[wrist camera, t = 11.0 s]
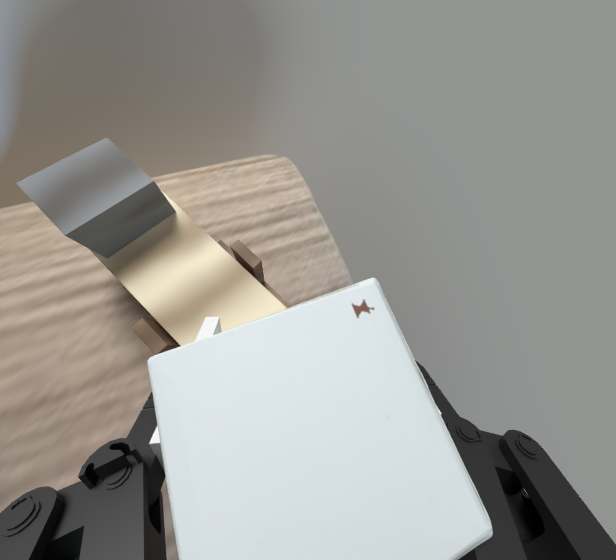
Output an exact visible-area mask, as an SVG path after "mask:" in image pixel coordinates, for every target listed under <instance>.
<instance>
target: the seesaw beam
mask: <svg viewBox="0 0 616 560" xmlns="http://www.w3.org/2000/svg"><path fill="white" fill-rule="evenodd" d="M17 185H18V186H19V187H20V188H21V189H22V190H23V191H24V192H25V193H26V194H27V195H28V196H29V197H30V198H31V200H32V201H33V202H34V203H35V204H36V205H37V206H38V207H39V208H40V209H41V210H42V211H43V212H44V214H45V215H46V216H47V217H48V218H49V219H50V220H51V221H52V222H53V223H54V224H55V225H56V226H57V227H58V228H59V230H60V231H61V232H62V233H63V234H64V235H65V236H67V237H69V238H71V239H73V240H74V241H76V242H78V243H80V244H82V245H83V246H85V247H87V248H89V249H90V250H91V251H92V252H93V253H94V255H95V256H96V257H97V258H98V259H99V260H100V261H101V262H102V263H103V264H104V265H105V266H106V267H107V268H108V269H109V270H110V271H111V273H112V274H113V275H114V276H115V277H116V278H117V279H118V280H119V281H120V282H121V283H122V284H123V285H124V286H125V287H126V288H127V289H128V291H129V292H130V293H131V294H132V295H133V296H134V297H135V298H136V299H137V300H138V301H139V302H140V303H141V304H142V305H143V306H144V307H145V309H146V310H147V311H148V312H149V313H150V314H151V315H152V316H153V317H154V318H155V319H156V320H157V321H158V322H159V323H160V324H161V325H162V327H163V328H164V329H165V330H166V331H167V332H168V333H169V334H170V335H171V336H172V337H173V338H174V339H175V340H176V341H177V342H178V343H179V344H180V346H183V345H186V344H189V343H192V342H195V340H196V338H197V336H198V333H199V331H200V329H201V327H202V324H203V322H204V320H205V318H206V317H220V323H221V330H222V332H223V331H226V330H229V329H232V328H234V327H237V326H240V325H243V324H246V323H248V322H251V321H254V320H257V319H259V318H262V317H265V316H268V315H270V314H273V313H276V312H279V311H282V310H284V309H287V308H286V307H285V306H284V305H283V304H282V303H281V302H280V301H279V300H278V299H277V298H276V297H274V296H273V295H272V294H271V293H270V292H269V291H268V290H267V289H266V288H265V287H264V286H263V285H262V284H261V283H260V282H258V281H257V280H256V279H255V278H254V277H253V276H252V275H251V274H250V273H249V272H248V271H247V270H246V269H245V268H243V267H242V266H241V265H240V264H239V263H238V262H237V261H236V260H235V259H234V258H233V257H232V256H231V255H230V254H229V253H227V252H226V251H225V250H224V249H223V248H222V247H221V246H220V245H219V244H218V243H217V242H216V241H215V240H214V239H212V238H211V237H210V236H209V235H208V234H207V233H206V232H205V231H204V230H203V229H202V228H201V227H200V226H199V225H198V224H196V223H195V222H194V221H193V220H192V219H191V218H190V217H189V216H188V215H187V214H186V213H185V212H184V211H183V210H181V209H180V208H179V207H178V206H177V205H176V204H175V203H174V202H173V201H172V200H171V199H170V198H169V197H168V196H167V195H165V194H164V193H163V192H162V191H161V190H160V189H159V188H158V186H157V185H156V183H155V182H154V181H153V180H152V179H151V178H150V177H149V176H148V175H147V174H146V173H145V172H143V171H142V170H141V169H140V168H139V167H138V166H137V165H136V164H135V163H134V162H133V161H132V160H131V159H130V158H128V157H127V156H126V155H125V154H124V153H123V152H122V151H121V150H120V149H119V148H118V147H117V146H116V145H115V144H113V143H112V142H111V141H110V140H109V139H108V138H105V139H103V140H101V141H99V142H97V143H95V144H93V145H91V146H89V147H87V148H85V149H83V150H81V151H79V152H77V153H75V154H73V155H71V156H69V157H67V158H65V159H63V160H61V161H59V162H57V163H55V164H53V165H51V166H49V167H47V168H45V169H43V170H41V171H39V172H37V173H35V174H34V175H31V176H29V177H28V178H25V179H23V180H21V181H20V182H17Z"/></svg>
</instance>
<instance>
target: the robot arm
mask: <svg viewBox="0 0 616 560" xmlns="http://www.w3.org/2000/svg"><path fill="white" fill-rule="evenodd" d="M221 332H222V330H221V323H220V317H206V318H205V320H204V322H203V324H202V327H201V329H200V331H199V333H198V336H197V338H196V340H195V341H198V340H200V339H203V338H206V337H209V336H212V335H215V334H218V333H221ZM415 362H416V364H417V366H418V368H419V369H420V371H421V373H422V375H423V377H424V379H425V381H426V383H427V385H428V388H429V391H430V393H431V395H432V398H433V400H434V402H435V404H436V406H437V408H438V411H439V413H440V415H441V417H442V419H443V421H444V423H445V425H446V427H447V429H448V431H449V434H450V436H451V438H452V440H453V442H454V444H455V446H456V448H457V451H458V453H459V455H460V457H461V459H462V461H463V463H464V466H465V468H466V470H467V472H468V474H469V476H470V478H471V480H472V482H473V484H474V486H475V488H476V490H477V492H478V494H479V497H480V499H481V501H482V503H483V505H484V507H485V509H486V511H487V513H488V516H489V518H490V521H491V525H492V529H493V535H492V537H491V538H489V539H488V540H486V541H485V542H483V543H481V544H480V545H478V546H477V547H475V548H474V549H472V550H471V551H470V552H468V553H467V554H465V555H464V556H462V557H461V558H460V559H458V560H616V545H615V543H614V542H613V540H612V539H611V538H610V536H609V535H608V534H607V533H606V531H605V530H604V529H603V527H602V526H601V525H600V523H599V522H598V521H597V519H596V518H595V517H594V515H593V514H592V513H591V511H590V510H589V509H588V507H587V506H586V505H585V503H584V502H583V501H582V499H581V498H580V497H579V495H578V494H577V493H576V491H575V490H574V489H573V488H572V486H571V485H570V484H569V482H568V481H567V480H566V478H565V477H564V476H563V474H562V473H561V472H560V470H559V469H558V468H557V466H556V465H555V464H554V463H553V461H552V460H551V459H550V457H549V456H548V454H547V453H546V452H545V451H544V449H543V448H542V447H541V446H540V445H539V444H538V443H537V442H536V441H534V440H533V439H532V438H531V437H529V436H528V435H526V434H524V433H522V432H520V431H516V430H508V431H507V432H506V433H505V434H504V435H503V436H500V435H497V434H493V433H489V432H484V431H481V430H479V429H478V428H477V427H476V426H475V425H473V424H472V423H471V422H469V421H468V420H466V419H464V418H461V417H460V416H459V415H458V414H457V413H456V411H455V410H454V409H453V407H452V406H451V404H450V403H449V402H448V401H447V399H446V398H445V396H444V395H443V393H442V392H441V391H440V389H439V388H438V386H436V384H435V382H434V381H433V380H432V378H430V376H429V374H428V373H427V371H426V370H425V368H424V367H423V366H421V365H420V364H419V363H418V362H417V361H415ZM78 477H79V479H80V480H81V481H80V482H77V483H75V484H73V485H70V486H68V487H66V488H63V489H61V490H58V491H56V490H55V489H53V488H51V487H49V486H47V487H40V488H36V489H34V490H32V491H30V492H27V493H25V494H24V495H22V496H21V497H19V498H18V499H17V500H15V501H14V502H12V503H11V504H10V505H9V506H8V507H7V508H6V509H5V510H3V511H2V512H1V513H0V560H167V559H166V544H165V529H164V514H163V499H162V493H161V487H162V485H163V482H164V479H165V470H164V464H163V457H162V451H161V445H160V438H159V432H158V425H157V419H156V413H155V407H154V400H153V393H152V392H151V394H150V396H149V397H148V400H147V401H146V403H145V405H144V407H143V410H141V412H140V414H139V416H138V418H137V420H136V422H135V423H134V425H133V427H132V429H131V431H130V433H129V435H128V436H127V438H119V439H116V440H113V441H110V442H108V443H107V444H105V445H103V446H102V447H100V448H99V449H98V450H97V451H95V452H94V453H93V454H92V455H91V456H90V457H89V458H88V460H87V461H86V462H85V464H84V465H83V466H82V468H81V471H80V473H79V476H78ZM524 489H525V490H526V492H527V493H526V492H525V491H524ZM527 494H528V495H527Z"/></svg>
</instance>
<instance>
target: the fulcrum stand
mask: <svg viewBox="0 0 616 560" xmlns="http://www.w3.org/2000/svg"><path fill="white" fill-rule="evenodd" d="M218 244H219V245H220V246H221V247H222V248H223V249H224V250H225V251H226V252H227V253H229V254H230V255H231V256H232V257H233V258H234V259H235V260H236V261H237V262H238V263H239V264H240V265H241V266H242V267H243V268H245V269H246V270H247V271H248V272H249V273H250V274H251V275H252V276H253V277H254V278H255V279H256V280H257V281H258V282H260V283H261V284H262V285H263V286H264V287H265V288H266V289H267V290H268V291H269V292H270V293H271V294H272V295H273V296H274V297H276V298H277V299H278V300H279V301H280V302H281V303H282V304H283V305H284V306H285V307H286V308H290V307H291V306H290V305H289V304H288V303H287V302H286V301H285V300H284V299H283V298H282V297H281V296H280V295H279V294H278V293H277V292H275V291H274V290H273V289H272V288H271V287H270V286H269V285H268V284H267V283H266V282H265V281H264V275H263V268H262V262H261V260H260V259H259V258H258V257H257V256H256V255H255V254H254V253H252V252H251V251H250V250H249V249H248V248H247V247H246V246H245V245H244V244H243V243H242V242H241V241H240V240H239V239H238V240H237V241H236V242H235V243H233V244H232V245H231V246H230V247H231V249H232V250H231V249H230V248H229V247H228V246H227V245H226V244H225V243H224V242H222V241H221V240H220V241H219V242H218ZM141 305H142V304H141ZM142 306H143V305H142ZM143 307H144V306H143ZM144 308H145V307H144ZM130 328H131V329H132V330H133V331H134V332H135V333H136V334H137V335H138V336H139V337H140V338H141V339H142V341H143V342H144V343H145V344H146V345H147V346H148V347H149V348H150V349H151V350H152V351H153V352H154V353H155V354H156V355H157V354H160V353H163V352H166V351H168V350H171V349H174V348H177V347H180V344H179V343H178V342H177V341H176V340H175V339H174V338H173V337H172V336H171V335H170V334H169V333H168V332H167V331H166V330H165V329H164V328H163V327H162V325H161V324H160V323H159V322H158V321H157V320H156V321H153V320H148V319H144V318H141V319H140V320H139V321H138V322H136V323H135V324H134V325H133V326H132V327H130Z"/></svg>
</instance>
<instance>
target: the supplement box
mask: <svg viewBox="0 0 616 560" xmlns="http://www.w3.org/2000/svg"><path fill="white" fill-rule="evenodd" d="M148 370H149V376H150V382H151V387H152V393H153V400H154V407H155V413H156V419H157V425H158V432H159V438H160V445H161V451H162V457H163V464H164V470H165V476H166V482H167V488H168V495H169V501H170V507H171V513H172V519H173V525H174V532H175V538H176V544H177V550H178V556H179V560H458V559H460V558H461V557H462V556H464V555H465V554H467V553H468V552H470V551H471V550H472V549H474V548H475V547H477V546H478V545H480V544H481V543H483V542H485V541H486V540H488V539H489V538H491V537H492V535H493V529H492V525H491V521H490V518H489V516H488V513H487V511H486V509H485V507H484V505H483V503H482V501H481V499H480V497H479V494H478V492H477V490H476V488H475V486H474V484H473V482H472V480H471V478H470V476H469V474H468V472H467V470H466V468H465V466H464V463H463V461H462V459H461V457H460V455H459V453H458V451H457V448H456V446H455V444H454V442H453V440H452V438H451V436H450V434H449V431H448V429H447V427H446V425H445V423H444V421H443V419H442V417H441V415H440V413H439V411H438V408H437V406H436V404H435V402H434V400H433V398H432V395H431V393H430V391H429V388H428V385H427V383H426V381H425V379H424V377H423V375H422V373H421V371H420V369H419V368H418V366H417V364H416V362H415V360H414V358H413V356H412V353H411V351H410V349H409V347H408V345H407V343H406V341H405V339H404V337H403V335H402V333H401V331H400V328H399V326H398V324H397V322H396V320H395V318H394V316H393V313H392V311H391V309H390V307H389V305H388V303H387V301H386V299H385V296H384V294H383V292H382V290H381V287H380V285H379V283H378V281H377V280H376V279H375V278H370V279H367V280H364V281H362V282H359V283H356V284H353V285H351V286H348V287H345V288H342V289H339V290H337V291H334V292H331V293H328V294H326V295H323V296H320V297H317V298H315V299H312V300H309V301H306V302H304V303H301V304H298V305H295V306H293V307H290V308H287V309H284V310H282V311H279V312H276V313H273V314H270V315H268V316H265V317H262V318H259V319H257V320H254V321H251V322H248V323H246V324H243V325H240V326H237V327H234V328H232V329H229V330H226V331H223V332H221V333H218V334H215V335H212V336H209V337H206V338H203V339H200V340H198V341H195V342H192V343H189V344H186V345H183V346H180V347H177V348H174V349H171V350H168V351H166V352H163V353H160V354H157V355H154V356H152V357H150V358H149V360H148Z"/></svg>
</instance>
